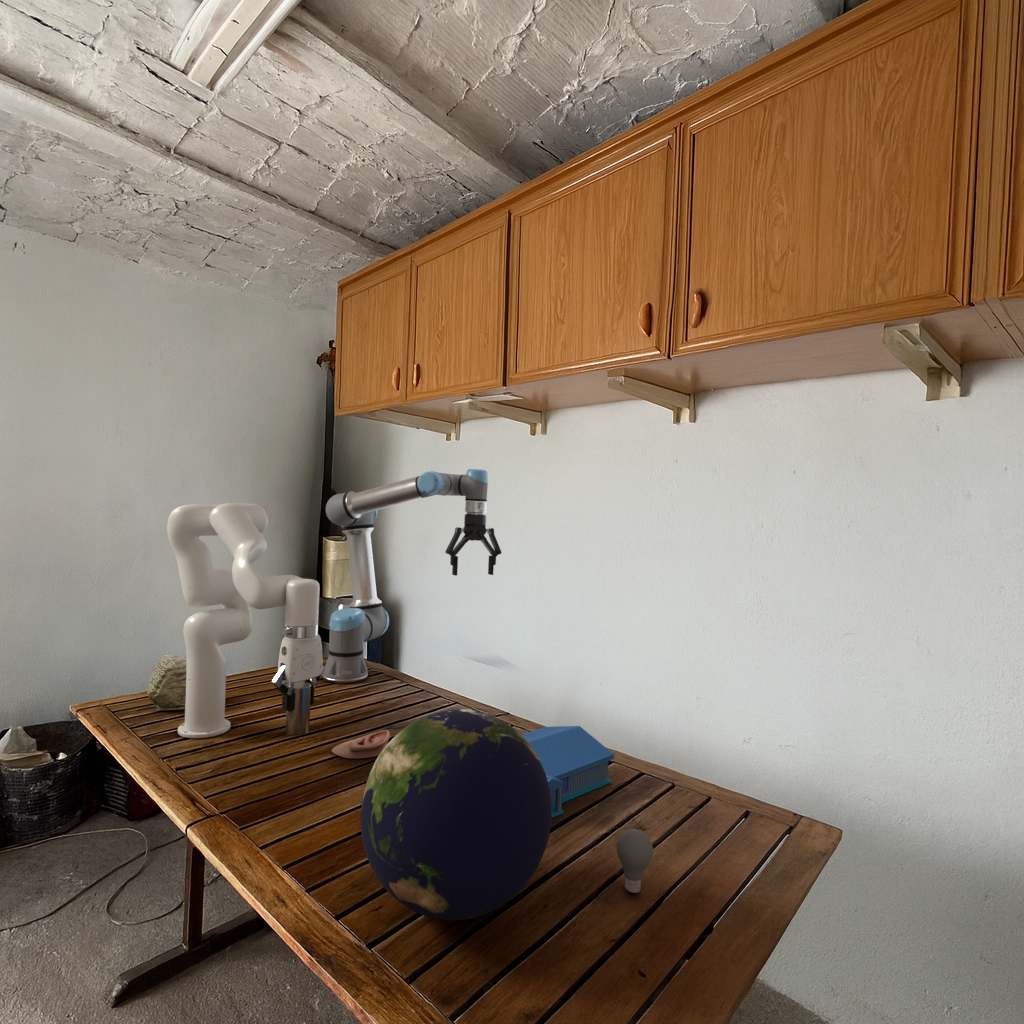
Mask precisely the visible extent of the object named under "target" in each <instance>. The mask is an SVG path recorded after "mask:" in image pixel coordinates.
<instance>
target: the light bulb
mask: <svg viewBox="0 0 1024 1024" xmlns="http://www.w3.org/2000/svg"><path fill="white" fill-rule="evenodd" d="M615 849H616V854H617V857H618V859H619V861H620V863H621V865H622V867H623V873H624V874H623V875H624V876H625V878H624V888H625V890H627V891H628V892H630V893H634V894H635V893H639V892H640V891H641V889H642V887H641V886H642V879H643V877H644V875H645V871H646V868H647V867H648V866H649V864H650V863H651V861H652V859H653V855H654V847H653V843H652V841H651V838H649V836H648V835H647V834H646V833H645V832H643V831H642V830H641V829H636V828H629V829H627V830H625V831H623V832H622V833H621V834H620V835H619V837H618V839H617V841H616V847H615Z"/></svg>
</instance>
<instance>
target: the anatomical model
mask: <svg viewBox="0 0 1024 1024" xmlns="http://www.w3.org/2000/svg"><path fill="white" fill-rule="evenodd" d="M390 738H391V732H390V730H388V729H387V730H386V729H384V730H379V731H376V732H373V733H372V732H371V733H369V734H367V735H363V736H361V737H357V738H356V739H351V740H348V741H344V742H342V743H339V744H338V745H336V746H334V747H333V748H332V749H331V752H332V753H333V754H334V755H337V756H339V757H342V758H344V759H365V758H367V759H368V758H374V757H378V756H379V755H380V753H381V752H382V750H383V749H384V748H385V746H386V745H387V744H388V743H389V740H390Z"/></svg>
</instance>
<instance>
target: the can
mask: <svg viewBox="0 0 1024 1024" xmlns="http://www.w3.org/2000/svg"><path fill="white" fill-rule="evenodd" d="M288 686H289V683H288V684H287V688H288ZM292 694H293V695H294V706H293V711H291V712H289V711H286V710H285V726H284V727H285V729H284V730H285V731H284V732H285V733H284V734H286V735H287V736H292V737H299V736H303V735H306V734H308V733H309V732H310V721H311V705H310V700H311V684H310V683H308V682H305V681H301V682H298V683H295V684H294V688H293V691H292Z"/></svg>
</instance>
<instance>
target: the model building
mask: <svg viewBox="0 0 1024 1024" xmlns="http://www.w3.org/2000/svg"><path fill="white" fill-rule="evenodd" d="M520 734H521V735H522V736H523V737H524V738H525V739H526V740H527V742H528V743H529V744H530V745H531V746H532V748H533V749H534V751H535V752H536V754H537V756H538V757H539V759H540V761H541V763H542V766H543V769H544V771H545V774H546V777H547V780H548V784H549V788H550V794H551V802H552V819H554V818H555V817H558V816H559V815H560V816H561V815H562V814H564V812H565V811H564V810H563V808H562V807H563V803H566V802H568V801H571V800H572V799H575V798H577V797H581V796H582V795H584V794H587V793H589V792H592V791H595V790H596V789H599V788H601V787H603V786H606V785H608V784H610V783H611V782H612V780H611V779H610V778H608V777H609V776H608V775H609V773H608V772H609V761H611V760H614V758H615V754H614V753H613V752H612V751H611V750H609V748H607V746H604V745H603V744H602V743H601V742H600V741H599V740H597V739H596V738H595V737H594V736H592V735H591V734H590V733H589V732H587V731H586V730H585V729H584V728H582V726H580V725H559V726H558V725H557V726H544V727H541V728H537V729H535V730H531V731H528V732H524V733H520Z"/></svg>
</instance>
